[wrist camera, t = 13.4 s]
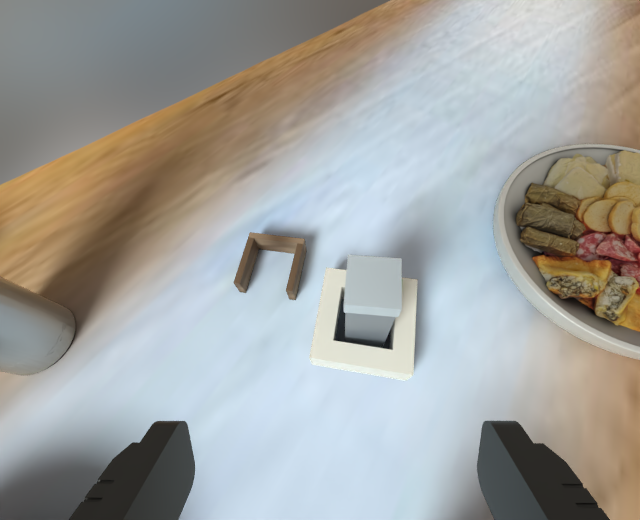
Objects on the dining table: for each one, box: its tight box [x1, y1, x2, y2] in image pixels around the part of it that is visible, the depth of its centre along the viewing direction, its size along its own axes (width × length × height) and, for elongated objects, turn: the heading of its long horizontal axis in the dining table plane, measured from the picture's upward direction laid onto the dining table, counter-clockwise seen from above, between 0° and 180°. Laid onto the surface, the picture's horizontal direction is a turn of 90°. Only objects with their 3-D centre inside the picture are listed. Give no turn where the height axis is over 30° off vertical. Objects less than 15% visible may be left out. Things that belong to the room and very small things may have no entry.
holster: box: [234, 232, 306, 300], centre depth 44 cm, size 8×8×3 cm
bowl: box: [493, 144, 640, 360], centre depth 41 cm, size 30×30×8 cm
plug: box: [344, 255, 402, 348], centre depth 35 cm, size 5×5×14 cm
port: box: [309, 268, 418, 381], centre depth 39 cm, size 11×11×5 cm
